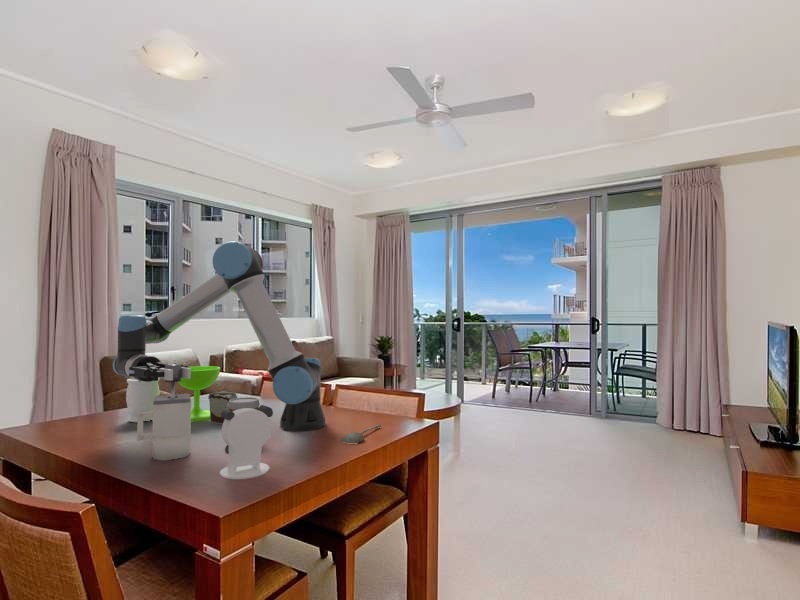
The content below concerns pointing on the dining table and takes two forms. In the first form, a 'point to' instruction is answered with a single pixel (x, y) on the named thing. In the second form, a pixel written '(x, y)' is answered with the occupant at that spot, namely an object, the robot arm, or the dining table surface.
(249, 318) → the robot arm
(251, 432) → the panda figurine
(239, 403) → the disposable coffee cup
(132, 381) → the jar
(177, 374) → the plunger
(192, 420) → the wineglass
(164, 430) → the press pot
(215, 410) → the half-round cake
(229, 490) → the dining table surface
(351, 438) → the soupspoon
